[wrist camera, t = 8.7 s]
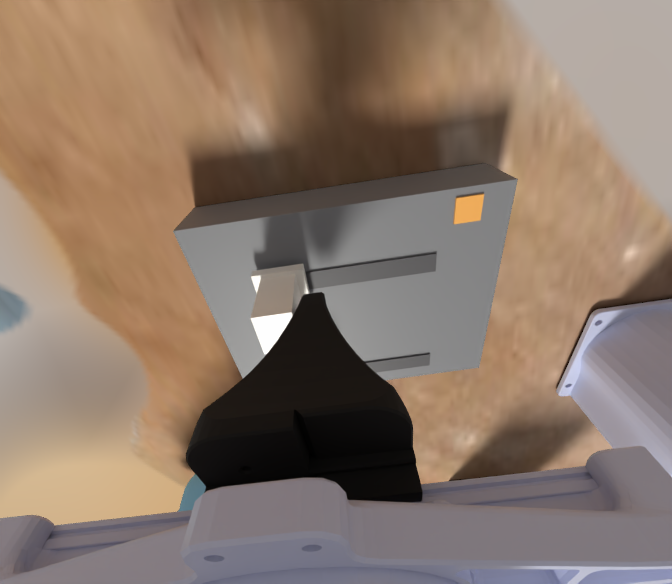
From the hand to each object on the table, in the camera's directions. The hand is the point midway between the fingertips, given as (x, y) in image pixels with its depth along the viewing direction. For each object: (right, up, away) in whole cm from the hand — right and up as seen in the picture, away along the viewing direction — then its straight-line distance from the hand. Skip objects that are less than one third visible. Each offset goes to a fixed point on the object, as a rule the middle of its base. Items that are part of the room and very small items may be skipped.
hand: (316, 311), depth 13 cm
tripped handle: (-2, +1, +2) cm, 3 cm away
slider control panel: (+2, +1, +6) cm, 6 cm away
